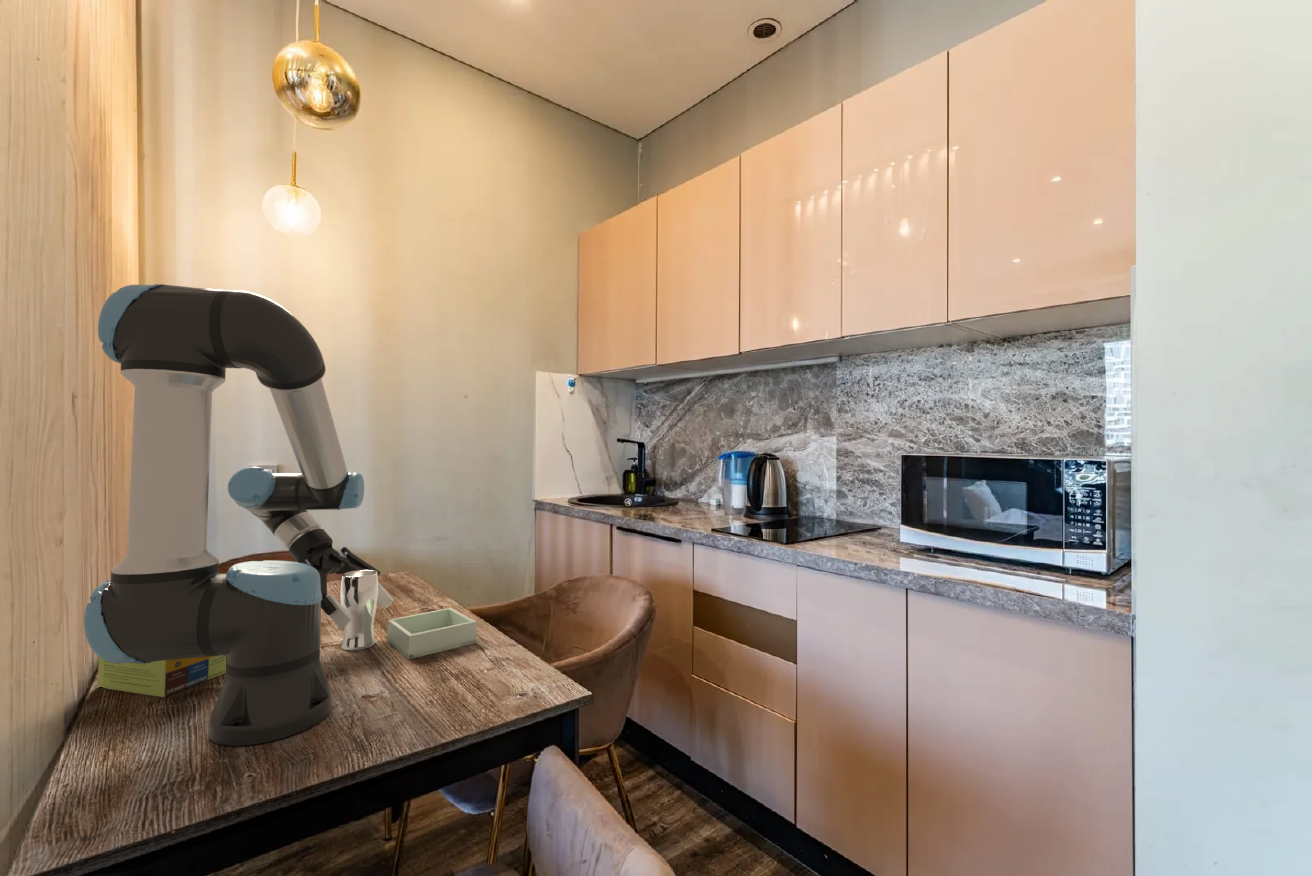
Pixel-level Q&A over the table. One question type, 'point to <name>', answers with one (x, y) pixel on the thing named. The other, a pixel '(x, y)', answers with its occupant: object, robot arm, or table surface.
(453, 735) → the table surface
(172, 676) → the protein box
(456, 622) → the bin
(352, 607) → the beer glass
